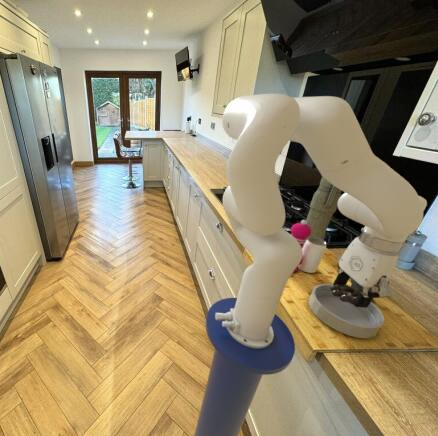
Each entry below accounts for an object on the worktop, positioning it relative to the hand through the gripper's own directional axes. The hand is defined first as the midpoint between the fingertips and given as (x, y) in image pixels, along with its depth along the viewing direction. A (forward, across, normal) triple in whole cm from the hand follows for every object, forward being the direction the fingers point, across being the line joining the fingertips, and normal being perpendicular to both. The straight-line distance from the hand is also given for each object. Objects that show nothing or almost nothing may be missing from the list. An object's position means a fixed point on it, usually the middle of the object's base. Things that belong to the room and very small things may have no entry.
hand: (348, 295), depth 65 cm
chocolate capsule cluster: (0, 0, 0) cm, 1 cm away
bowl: (+8, 0, +1) cm, 8 cm away
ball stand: (+7, -8, +13) cm, 17 cm away
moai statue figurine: (+7, -39, +15) cm, 42 cm away
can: (+8, -22, +4) cm, 24 cm away
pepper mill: (+8, -22, -3) cm, 24 cm away
